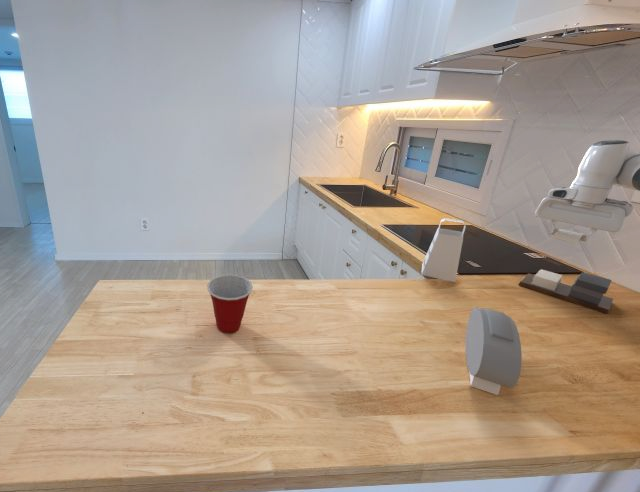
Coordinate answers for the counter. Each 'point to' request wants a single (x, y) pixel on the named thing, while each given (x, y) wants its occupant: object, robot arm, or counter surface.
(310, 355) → the counter surface
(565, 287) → the shelf plank
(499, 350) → the alarm clock
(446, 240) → the grater
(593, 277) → the grey stack
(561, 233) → the white book
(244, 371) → the counter surface
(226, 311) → the plastic cup
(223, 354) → the counter surface
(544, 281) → the white stack
